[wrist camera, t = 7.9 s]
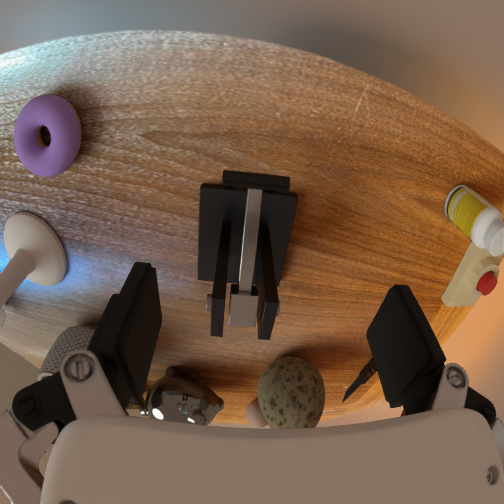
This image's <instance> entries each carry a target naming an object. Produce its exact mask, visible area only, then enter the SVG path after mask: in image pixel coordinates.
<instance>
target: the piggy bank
mask: <svg viewBox="0 0 504 504" xmlns="http://www.w3.org/2000/svg"><path fill="white" fill-rule="evenodd" d="M200 376H201V375H200V373H199V372H198V371H192V372H191V373H190V374H189V376H188V377H184V376H178V375H177V372H176V370H175V369H174V368H172V367H168V368H167V369H166V374H165V376H164V377H162V378H160V379H158V380H157V381H156V382H155V383H154V384H153V385H152V386H151V388H150V389H149V391H148V394H147V397H146V402H145V404H143V405H142V406H141V409H140V414H141V415H143V416H149V417H150V419H158V420H164V421H171V422H178V423H186V424H196V425H206V426H207V425H208V424H209V423H210V422H211V421H212V420H213V418H214V417H215V415H216V414H217V413H218V412H219V411H221V410H223V407H224V402H223V399H222V398H220V397H219V396H217V395H216V393H215V392H214V391H213V390H212V389H211V388H210V387H208V386H207V385H206V384H204V383H202V382H201V381H200Z"/></svg>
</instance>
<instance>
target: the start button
mask: <svg viewBox="0 0 504 504" xmlns="http://www.w3.org/2000/svg"><path fill="white" fill-rule="evenodd" d="M496 284H497V278H496V277H495V275H494V274H493V273H492V272H491V271H488V272H486V273H485V274H484V275H483V276H482V277H481V278H480V279H479V281H478V283H477V288H478V289H479V291H480V292H481V293H482V295H487V294H489V293H490V292H491V291H492V290H493V289H494V288H495V286H496Z"/></svg>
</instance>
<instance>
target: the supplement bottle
mask: <svg viewBox="0 0 504 504" xmlns="http://www.w3.org/2000/svg"><path fill="white" fill-rule="evenodd" d="M445 213H446V216H447V217H448V219H449V220H450V221H451V222H452V223H454V224H455V225H456V226H457V227H458V228H459V229H460V230H461V231H462V232H463V233H464V234H465V235H466V236H467V237H468V238H469V239H470V240H471V241H472V242H473V243H474V244H475V245H476V246H477V247H479V248H486V249H487V251H489V252H490V254H491V255H493V256H499V255H501V254H502V253H503V252H504V221H503V218H502V215H501V213H500V211H499V210H498V209H497V208H496V207H494V206H493V205H492V204H490V203H489V202H488V201H487V200H485V199H484V198H483V197H481V196H480V195H479V194H478V193H476V192H475V191H474V190H472V189H471V188H469V187H468V186H466V185H459V186H456V187H455V188H453V189H452V190H451V191H450V193H449V194H448V196H447V198H446V201H445Z"/></svg>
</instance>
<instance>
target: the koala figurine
mask: <svg viewBox="0 0 504 504" xmlns="http://www.w3.org/2000/svg"><path fill="white" fill-rule="evenodd" d="M2 307H3V308H6V304H4V305H3V306H2ZM5 318H6V314H5V311H4V310H3V309H2V308H1V309H0V328H1V327H2V326H3V324H4V321H5Z"/></svg>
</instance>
